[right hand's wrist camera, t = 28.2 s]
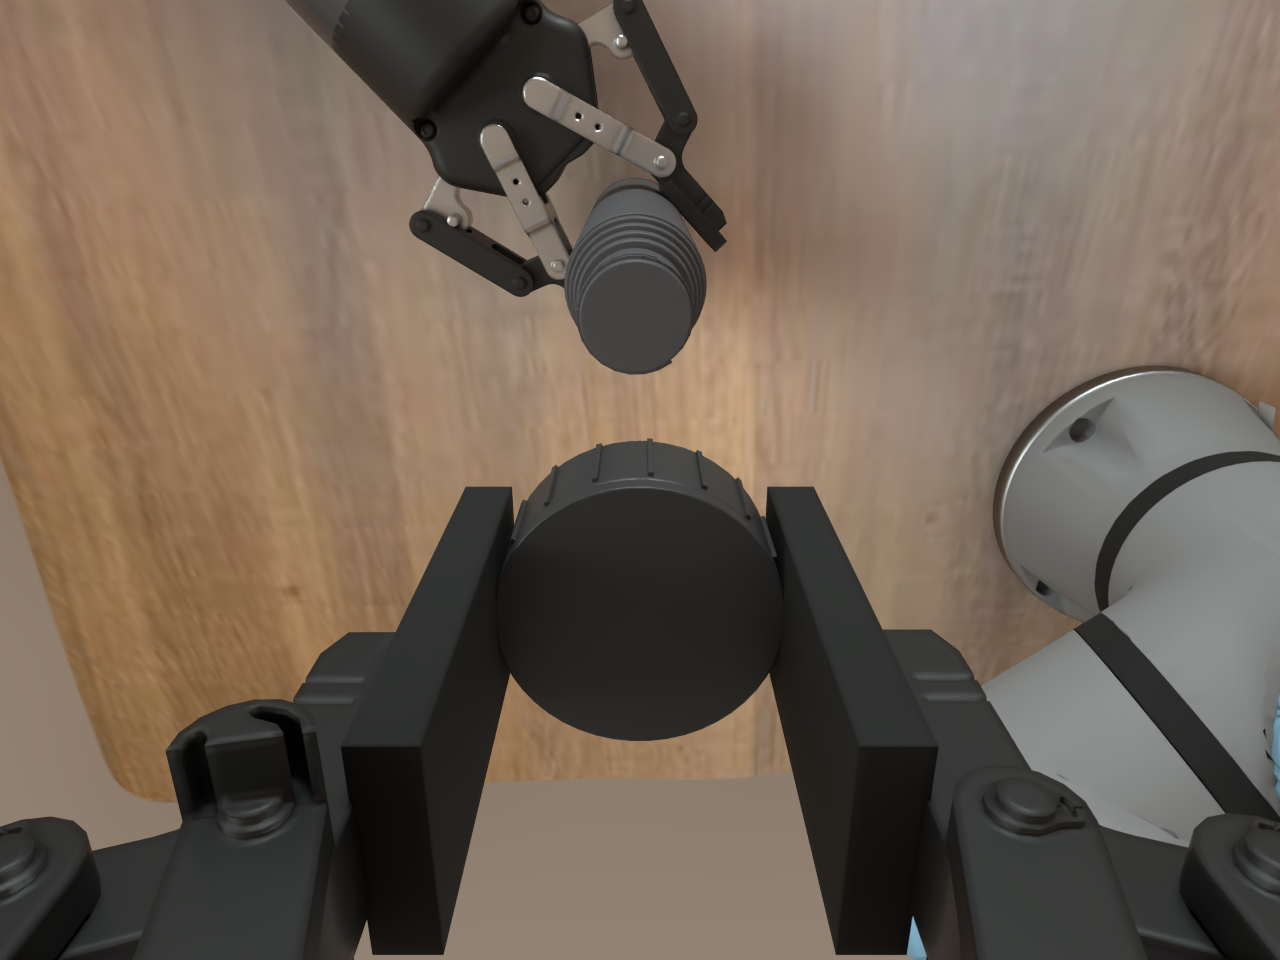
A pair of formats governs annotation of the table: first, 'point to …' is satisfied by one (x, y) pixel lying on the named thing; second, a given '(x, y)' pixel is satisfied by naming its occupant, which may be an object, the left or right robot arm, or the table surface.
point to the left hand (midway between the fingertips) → (675, 283)
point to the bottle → (635, 279)
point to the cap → (639, 593)
